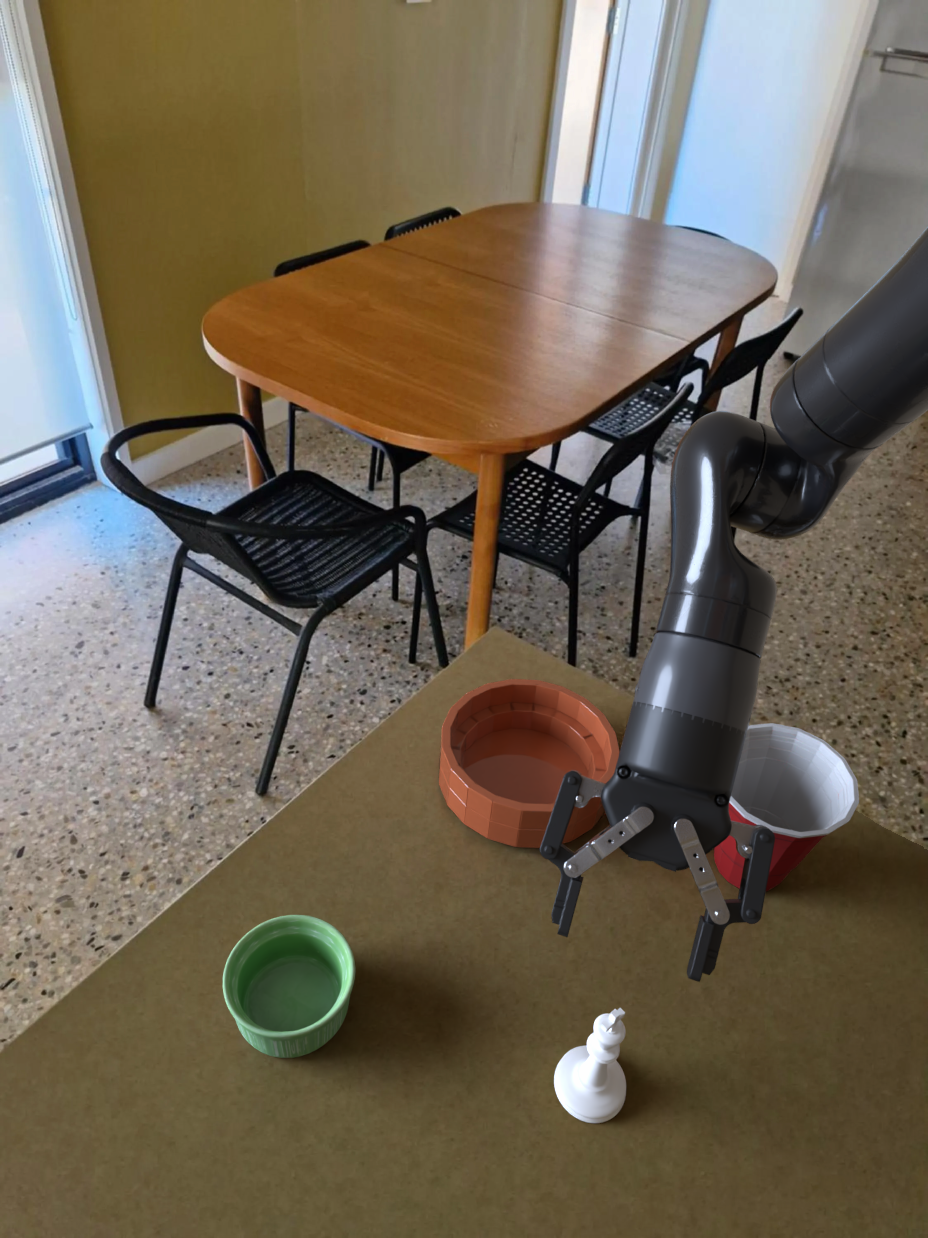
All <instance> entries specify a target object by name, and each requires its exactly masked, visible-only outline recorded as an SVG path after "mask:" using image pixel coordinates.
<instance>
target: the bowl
mask: <svg viewBox="0 0 928 1238" xmlns="http://www.w3.org/2000/svg"><path fill="white" fill-rule="evenodd" d="M440 731H441V733H440V745H439V747H440V748H439V759H438V785H439V788H440V791H441V793H442V795H443V798H444V801H445V803H446V805H447V807H448V808H449V809H450V810H451V811H452V812H453V814H455V815H456V817H457V818H458V819H459V821H461V823H462V824H463V825H464V826H466V827H468V828H469V829H472V830H473V831H474V832H476V833H478V834H479V835H481V836H482V837H484V838H486V839H487V840H491V841H494V842H498V843H500V844H504V845H507V846H510V847H515V848H530V849H540V846H541V843H542V840H543V837H544V834H545V831H546V828H547V825H548V822H549V819H550V816H551V813H552V810H553V807H554V804H555V801H556V798H557V795H558V792H559V790H560V787H561V784H562V781H563V778H564V775H565V774H566V773H567V772H569V771H571V770H577V771H579V772H580V773H581V774H582V775H583V776H586V777H588V778H591V779H594V780H597V781H599V782H602V783H605V784H606V783H607V782H608V781H609V780H610V779H611V777H612V776H613V774H614V772H615V768H616V764H617V760H618V757H619V753H620V746H619V740H618V736H617V733H616V730H615V729H614V727H613V726H612V724H611V723H610V721H609V720H608V718H607V716H606V715H605V714H604V712H603V711H601V710H600V709H599V708H598V707H597V706H596V705H594V703H592V701H590V700H588V698H586V697H585V696H583V695H581V694H579V693H577V692H575V691H573V690H570V689H569V688H567V687H565V686H563V685H560V684H556V683H553V682H547V681H544V680H540V679H530V678H529V679H527V678H509V679H508V678H507V679H503V680H497V681H492V682H488V683H485V684H482V685H481V686H478V687H476V688H474V689H472V690H470V691H468V692H466V693H465V694H464V695H462V696H461V697H460V698H459V699H458V700H457V701H456V702H455V703H454V704H453V705H452V706H451V707H450V708H449V710H448V712H447V714H446V717H445V718H444V721H443V723H442V726H441V730H440ZM604 814H605V810H604V807H603V805H602V802H601V797H593V798H591V799H590V800H589V802H588V803H587V805H586V806H584V807H582V808H578V807H575V806H574V809H573V812H572V815H571V818H570V821H569V824H568V827H567V830H566V833H565V836H564V839H563V842H562V844H563V845H564V844H566V843H571V842H572V841H574V840H576V839H577V838H579V837H581V836H583V834H586V833H587V832H589V831H590V830H592V829H593V828H594V827H595V825H596V824H597V823H598V821H600V819H601V817H602V816H603V815H604Z"/></svg>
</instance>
